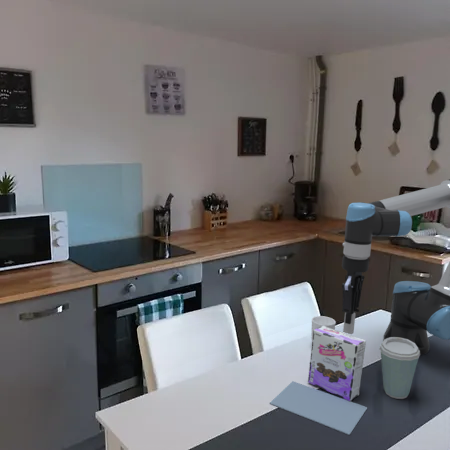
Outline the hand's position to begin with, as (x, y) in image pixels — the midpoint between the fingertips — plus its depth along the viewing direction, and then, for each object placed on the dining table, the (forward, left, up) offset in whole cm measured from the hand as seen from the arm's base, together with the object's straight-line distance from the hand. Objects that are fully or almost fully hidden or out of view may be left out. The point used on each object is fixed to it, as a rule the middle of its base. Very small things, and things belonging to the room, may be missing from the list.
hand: (348, 332), depth 137 cm
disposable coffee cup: (+1, +15, -14) cm, 21 cm away
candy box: (+10, 0, -14) cm, 17 cm away
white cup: (-13, -13, -14) cm, 23 cm away
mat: (+21, 0, -14) cm, 25 cm away
